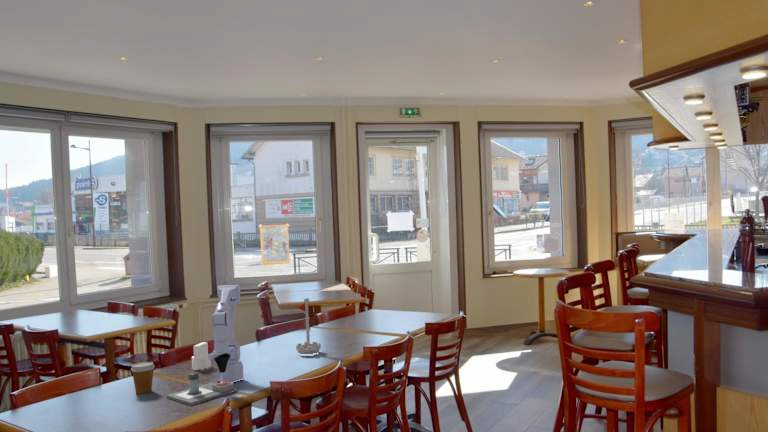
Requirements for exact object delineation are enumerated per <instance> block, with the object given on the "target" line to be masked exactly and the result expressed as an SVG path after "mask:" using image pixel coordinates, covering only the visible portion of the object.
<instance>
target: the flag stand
mask: <svg viewBox="0 0 768 432" xmlns="http://www.w3.org/2000/svg"><path fill="white" fill-rule="evenodd" d="M303 303H304V304H301V305H299V306H298V307H297V309H298V310H301V311H302V312H304V313H305V328H306V329H305V331H306V341H304V342H303V344H302V343H301V342H300V343H299V342H298V343H297V344H295V349H296V351H297V352H298V353H300V354H313V353H317V352H319V353H320V350H321V349H322V347H321V346H322V343H321V342H318V341H312V343H310V341H311V340H310V321H309V319H310V318H309V303H310V299H309V298H308V297H305V298H304V299H303ZM298 353H297V354H298Z"/></svg>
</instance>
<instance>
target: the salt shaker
mask: <svg viewBox="0 0 768 432" xmlns="http://www.w3.org/2000/svg"><path fill="white" fill-rule="evenodd" d="M199 373H200V372H190V373H188V376H187V379H188V389H189V394H198V393H199V386H200V379H199V378H200V376H199Z"/></svg>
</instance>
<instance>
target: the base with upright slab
mask: <svg viewBox="0 0 768 432" xmlns="http://www.w3.org/2000/svg"><path fill="white" fill-rule="evenodd" d="M208 347H209V345H208V342H207V341H206V342H205V341H203V342H202V341H201V342H200V343H197V344H194V345H193V355H192V356H191V370H192V369H194V370H198V369H204V368H208V367H210V366H211V367H212V361H211V360H212V359H208V354H209V348H208ZM194 370H193V371H194Z"/></svg>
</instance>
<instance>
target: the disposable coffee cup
mask: <svg viewBox="0 0 768 432" xmlns="http://www.w3.org/2000/svg"><path fill="white" fill-rule="evenodd" d="M154 369H155V364H154V362H153V361H143V362H137V363H134V364H131V368H130V370H131V372H132V378H133V383H134V390H135V394H137V395H143V394H149V393H151V392H152V389H153V380H154Z"/></svg>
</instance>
